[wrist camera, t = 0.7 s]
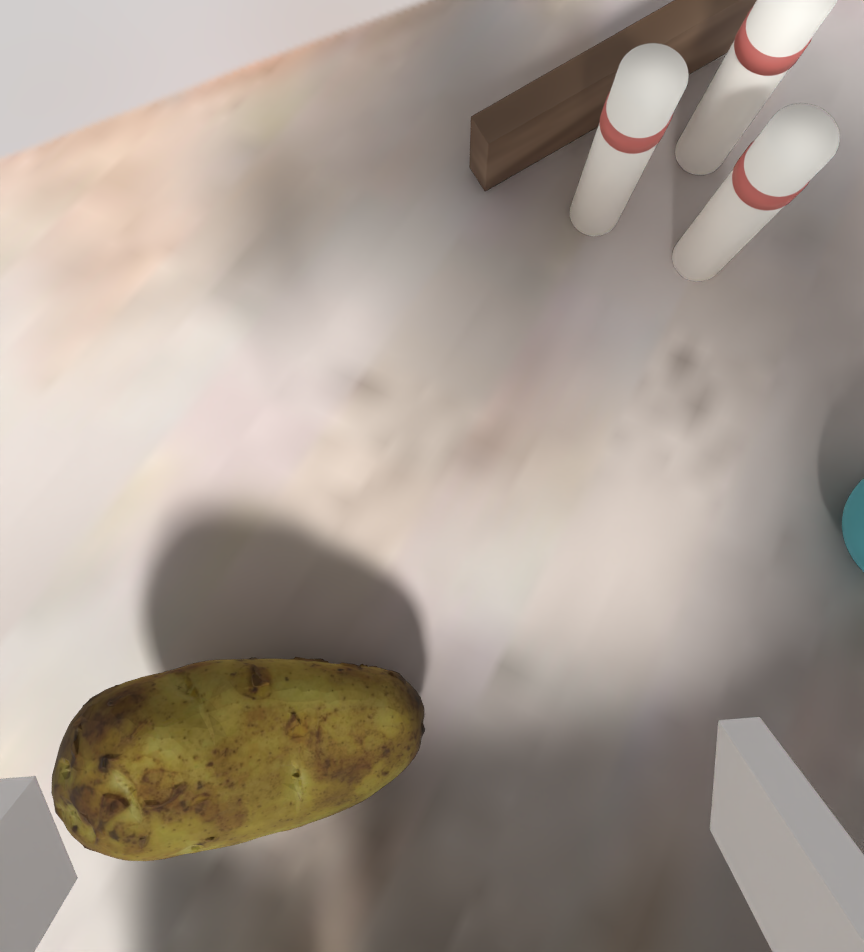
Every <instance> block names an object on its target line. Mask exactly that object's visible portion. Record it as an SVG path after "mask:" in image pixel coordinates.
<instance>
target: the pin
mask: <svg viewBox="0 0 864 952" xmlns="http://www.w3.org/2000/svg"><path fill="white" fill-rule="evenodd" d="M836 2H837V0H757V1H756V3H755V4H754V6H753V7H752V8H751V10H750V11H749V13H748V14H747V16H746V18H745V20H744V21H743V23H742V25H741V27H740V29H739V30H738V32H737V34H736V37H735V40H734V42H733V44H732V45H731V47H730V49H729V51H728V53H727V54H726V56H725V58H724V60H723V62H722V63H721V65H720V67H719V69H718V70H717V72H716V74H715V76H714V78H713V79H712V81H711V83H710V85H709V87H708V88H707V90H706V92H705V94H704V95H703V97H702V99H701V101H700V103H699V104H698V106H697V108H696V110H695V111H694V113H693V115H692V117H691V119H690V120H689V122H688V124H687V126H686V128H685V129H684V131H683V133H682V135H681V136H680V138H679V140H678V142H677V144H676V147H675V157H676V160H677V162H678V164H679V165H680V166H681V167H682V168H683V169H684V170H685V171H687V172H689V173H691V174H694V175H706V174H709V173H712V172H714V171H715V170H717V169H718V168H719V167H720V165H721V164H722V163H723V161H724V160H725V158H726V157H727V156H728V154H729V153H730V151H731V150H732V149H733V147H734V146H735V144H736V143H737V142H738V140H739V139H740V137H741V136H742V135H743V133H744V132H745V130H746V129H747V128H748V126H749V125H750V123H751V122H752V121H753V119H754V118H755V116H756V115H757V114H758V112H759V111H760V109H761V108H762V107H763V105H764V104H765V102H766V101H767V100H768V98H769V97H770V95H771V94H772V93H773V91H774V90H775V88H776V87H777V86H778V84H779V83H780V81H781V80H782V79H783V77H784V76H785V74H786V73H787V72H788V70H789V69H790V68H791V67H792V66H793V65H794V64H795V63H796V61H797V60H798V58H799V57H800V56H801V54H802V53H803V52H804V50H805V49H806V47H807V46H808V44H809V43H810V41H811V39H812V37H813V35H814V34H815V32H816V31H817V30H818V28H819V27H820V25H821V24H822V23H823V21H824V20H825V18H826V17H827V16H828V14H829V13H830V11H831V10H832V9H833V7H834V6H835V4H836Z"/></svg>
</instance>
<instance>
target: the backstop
mask: <svg viewBox="0 0 864 952" xmlns="http://www.w3.org/2000/svg"><path fill="white" fill-rule="evenodd" d="M756 1H757V0H674V1H672V2H671V3H669V4H667V5H665V6H664V7H662V8H660V9H658V10H657V11H655V12H653V13H651V14H650V15H648V16H646V17H644V18H643V19H641V20H639V21H637V22H636V23H634V24H632V25H630V26H629V27H627V28H625V29H623V30H622V31H620V32H618V33H616V34H615V35H613V36H611V37H609V38H608V39H606V40H604V41H602V42H601V43H599V44H597V45H596V46H594V47H592V48H590V49H589V50H587V51H585V52H583V53H582V54H580V55H578V56H576V57H575V58H573V59H571V60H569V61H568V62H566V63H564V64H562V65H561V66H559V67H557V68H555V69H554V70H552V71H550V72H548V73H547V74H545V75H543V76H541V77H540V78H538V79H536V80H534V81H533V82H531V83H529V84H527V85H526V86H524V87H522V88H520V89H519V90H517V91H515V92H513V93H512V94H510V95H508V96H506V97H505V98H503V99H501V100H499V101H498V102H496V103H494V104H492V105H491V106H489V107H487V108H485V109H484V110H482V111H480V112H478V113H477V114H475V115H473V116H471V135H470V169H471V170H472V172H473V174H474V175H475V177H476V178H477V180H478V182H479V183H480V185H481V186H482V188H483V189H484V191H487V190H488V189H490V188H492V187H494V186H495V185H497V184H499V183H501V182H502V181H504V180H506V179H507V178H509V177H511V176H513V175H514V174H516V173H518V172H520V171H521V170H523V169H525V168H527V167H528V166H530V165H532V164H534V163H535V162H537V161H539V160H541V159H542V158H544V157H546V156H548V155H549V154H551V153H553V152H555V151H556V150H558V149H560V148H561V147H563V146H565V145H567V144H568V143H570V142H572V141H574V140H575V139H577V138H579V137H581V136H582V135H584V134H586V133H588V132H589V131H591V130H593V129H595V128H596V127H598V126H599V123H600V116H601V113H602V110H603V107H604V104H605V101H606V98H607V96H608V94H609V92H610V91H611V88H612V85H613V82H614V79H615V76H616V73H617V70H618V68H619V65H620V63H621V60H622V59H623V58H624V56H625V55H626V54H627V53H628V52H629V51H631V50H632V49H634V48H635V47H637V46H640V45H643V44H649V43H657V44H663V45H666V46H669V47H671V48H672V49H674V50H675V51H677V52H678V53H679V54H680V55H681V56H682V58H683V59H684V61H685V62H686V65H687V68H688V74H690V73H692V72H694V71H696V70H697V69H699V68H701V67H703V66H704V65H706V64H708V63H710V62H711V61H713V60H715V59H717V58H718V57H720V56H722V55H723V54H725V53H727V52H728V51H729V49H730V47H731V45H732V43H733V42H734V40H735V37H736V34H737V32H738V30H739V29H740V27H741V25H742V23H743V21H744V20H745V18H746V16H747V14H748V13H749V11H750V10H751V8H752V7H753V6H754V4H755V2H756Z"/></svg>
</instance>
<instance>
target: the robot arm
mask: <svg viewBox="0 0 864 952" xmlns="http://www.w3.org/2000/svg"><path fill="white" fill-rule="evenodd" d="M710 831H711V833H712V835H713V837H714V839H715V840H716V842H717V844H718V846H719V848H720V850H721V852H722V854H723V856H724V858H725V860H726V862H727V864H728V866H729V868H730V870H731V872H732V874H733V876H734V878H735V880H736V882H737V884H738V886H739V888H740V889H741V891H742V893H743V895H744V897H745V899H746V901H747V903H748V905H749V907H750V909H751V911H752V913H753V915H754V917H755V919H756V921H757V923H758V925H759V927H760V929H761V931H762V933H763V935H764V937H765V938H766V940H767V942H768V944H769V946H770V948H771V950H772V952H864V854H863V853H862V852H861V850H860V849H859V848H858V846H857V845H856V844H855V842H854V841H853V840H852V838H851V837H850V836H849V834H848V833H847V832H846V831H845V829H844V828H843V827H842V825H841V824H840V823H839V821H838V820H837V819H836V817H835V816H834V815H833V813H832V812H831V811H830V809H829V808H828V807H827V805H826V804H825V803H824V801H823V800H822V799H821V797H820V796H819V795H818V793H817V792H816V791H815V789H814V788H813V787H812V786H811V784H810V783H809V782H808V780H807V779H806V778H805V776H804V775H803V774H802V772H801V771H800V770H799V768H798V767H797V766H796V764H795V763H794V762H793V760H792V759H791V758H790V756H789V755H788V754H787V752H786V751H785V750H784V748H783V747H782V746H781V744H780V743H779V742H778V740H777V739H776V738H775V737H774V735H773V734H772V733H771V731H770V730H769V729H768V727H767V726H766V725H765V723H764V722H763V721H762V719H761V718H760V717H751V718H739V719H727V720H718V731H717V744H716V757H715V769H714V782H713V795H712V808H711V820H710ZM77 878H78V877H77V875H76V873H75V870H74V868H73V865H72V863H71V861H70V858H69V856H68V853H67V851H66V849H65V846H64V844H63V841H62V839H61V837H60V834H59V832H58V829H57V827H56V825H55V822H54V820H53V817H52V815H51V813H50V810H49V808H48V805H47V803H46V800H45V798H44V796H43V793H42V791H41V788H40V786H39V784H38V781H37V779H36V776H31V777H19V778H6V779H0V952H34V951H35V950H36V948H37V946H38V945H39V943H40V941H41V939H42V938H43V936H44V934H45V933H46V931H47V929H48V928H49V926H50V924H51V922H52V921H53V919H54V917H55V916H56V914H57V912H58V910H59V909H60V907H61V905H62V904H63V902H64V900H65V899H66V897H67V895H68V893H69V892H70V890H71V888H72V887H73V885H74V883H75V882H76V880H77Z"/></svg>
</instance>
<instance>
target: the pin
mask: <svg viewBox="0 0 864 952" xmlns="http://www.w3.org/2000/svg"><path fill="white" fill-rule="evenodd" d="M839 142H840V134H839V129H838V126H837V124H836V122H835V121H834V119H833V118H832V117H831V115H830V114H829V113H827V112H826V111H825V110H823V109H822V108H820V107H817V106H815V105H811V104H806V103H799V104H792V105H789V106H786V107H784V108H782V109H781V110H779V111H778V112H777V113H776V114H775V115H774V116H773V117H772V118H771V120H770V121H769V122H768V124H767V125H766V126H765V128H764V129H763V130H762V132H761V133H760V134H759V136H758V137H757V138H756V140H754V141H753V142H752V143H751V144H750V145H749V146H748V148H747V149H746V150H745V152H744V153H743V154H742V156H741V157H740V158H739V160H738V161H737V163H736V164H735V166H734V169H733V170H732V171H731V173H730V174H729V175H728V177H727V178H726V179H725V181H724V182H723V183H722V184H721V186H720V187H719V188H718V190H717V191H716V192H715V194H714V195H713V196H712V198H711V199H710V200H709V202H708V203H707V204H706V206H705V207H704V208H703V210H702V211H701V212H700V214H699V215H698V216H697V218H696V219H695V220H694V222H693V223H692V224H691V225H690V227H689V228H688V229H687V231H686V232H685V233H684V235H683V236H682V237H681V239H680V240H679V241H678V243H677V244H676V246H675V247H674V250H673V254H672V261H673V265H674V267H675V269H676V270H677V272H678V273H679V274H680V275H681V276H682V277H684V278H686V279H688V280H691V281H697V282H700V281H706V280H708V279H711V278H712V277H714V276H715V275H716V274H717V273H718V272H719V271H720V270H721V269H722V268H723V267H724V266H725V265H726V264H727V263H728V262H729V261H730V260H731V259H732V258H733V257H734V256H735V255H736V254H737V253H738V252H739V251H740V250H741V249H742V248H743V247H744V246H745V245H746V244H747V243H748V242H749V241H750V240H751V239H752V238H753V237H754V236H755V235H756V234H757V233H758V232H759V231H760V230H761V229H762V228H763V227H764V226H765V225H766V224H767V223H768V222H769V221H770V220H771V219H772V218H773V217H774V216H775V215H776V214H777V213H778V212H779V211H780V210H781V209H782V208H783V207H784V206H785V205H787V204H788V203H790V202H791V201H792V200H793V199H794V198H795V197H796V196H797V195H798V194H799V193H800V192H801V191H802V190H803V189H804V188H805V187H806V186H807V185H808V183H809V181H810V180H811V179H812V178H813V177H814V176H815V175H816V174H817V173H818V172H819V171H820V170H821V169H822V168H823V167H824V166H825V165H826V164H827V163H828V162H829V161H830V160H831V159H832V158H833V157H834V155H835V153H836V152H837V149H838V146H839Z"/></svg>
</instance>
